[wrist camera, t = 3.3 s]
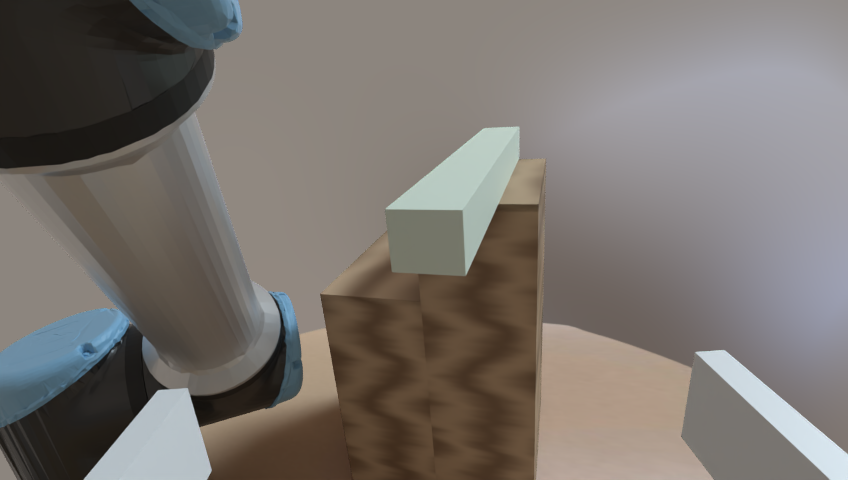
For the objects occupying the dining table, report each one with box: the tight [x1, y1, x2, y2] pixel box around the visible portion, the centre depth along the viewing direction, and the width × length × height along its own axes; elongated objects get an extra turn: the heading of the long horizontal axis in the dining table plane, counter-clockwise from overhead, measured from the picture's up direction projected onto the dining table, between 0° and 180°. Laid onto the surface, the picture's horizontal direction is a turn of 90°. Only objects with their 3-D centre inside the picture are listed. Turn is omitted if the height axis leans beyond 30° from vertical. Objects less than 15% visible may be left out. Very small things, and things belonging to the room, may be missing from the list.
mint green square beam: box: [385, 127, 519, 276], centre depth 37 cm, size 4×32×4 cm, turn 164°
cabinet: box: [320, 159, 546, 480], centre depth 50 cm, size 20×18×33 cm
